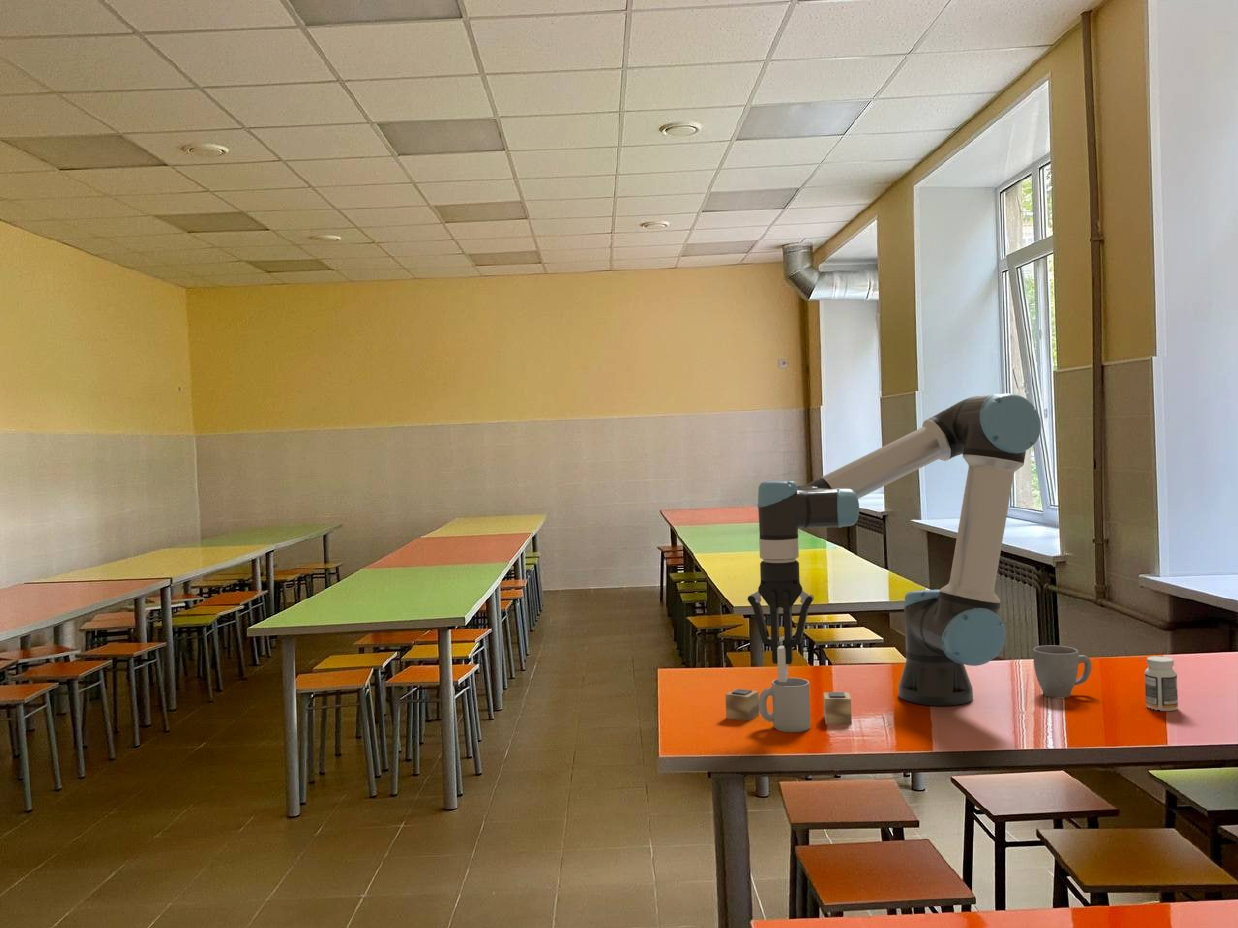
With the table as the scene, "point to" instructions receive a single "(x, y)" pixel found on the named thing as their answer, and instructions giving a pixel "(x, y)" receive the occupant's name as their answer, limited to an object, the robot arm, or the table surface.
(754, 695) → the oak block
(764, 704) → the cup
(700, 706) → the table surface
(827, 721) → the oak block
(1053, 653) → the mug
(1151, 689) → the pill bottle
